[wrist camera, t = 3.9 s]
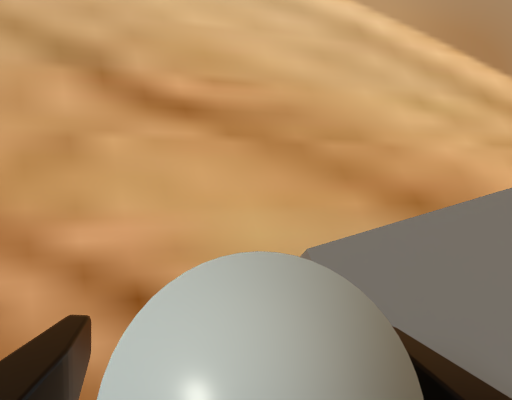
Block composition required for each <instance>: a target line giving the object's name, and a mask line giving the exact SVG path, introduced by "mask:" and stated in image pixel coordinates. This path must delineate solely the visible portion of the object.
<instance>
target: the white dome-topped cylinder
mask: <svg viewBox="0 0 512 400" xmlns="http://www.w3.org/2000/svg"><path fill="white" fill-rule="evenodd" d="M97 400H424V399H423V395H422V391H421V388H420V384H419V381H418V377H417V374H416V372H415V369H414V367H413V364H412V362H411V360H410V357H409V355H408V353H407V351H406V349H405V347H404V345H403V343H402V341H401V340H400V338H399V336H398V334H397V333H396V331H395V330H394V328H393V327H392V325H391V324H390V322H389V321H388V319H387V318H386V317H385V316H384V314H383V313H382V312H381V311H380V310H379V309H378V307H377V306H376V305H375V304H374V303H373V302H372V301H371V300H370V299H369V298H368V297H367V296H366V295H365V294H364V293H363V292H362V291H361V290H360V289H359V288H357V287H356V286H355V285H353V284H352V283H351V282H349V281H348V280H347V279H345V278H344V277H342V276H341V275H339V274H337V273H335V272H334V271H332V270H330V269H329V268H327V267H324V266H322V265H320V264H318V263H315V262H313V261H311V260H307V259H304V258H301V257H297V256H294V255H289V254H283V253H277V252H258V251H257V252H245V253H237V254H232V255H227V256H223V257H219V258H216V259H213V260H211V261H208V262H205V263H202V264H200V265H198V266H196V267H194V268H192V269H190V270H188V271H186V272H185V273H183V274H182V275H180V276H179V277H177V278H176V279H174V280H173V281H171V282H170V283H168V284H167V285H166V286H165V287H164V288H162V289H161V290H160V291H159V292H158V293H157V294H156V295H154V296H153V297H152V298H151V299H150V300H149V301H148V303H147V304H146V305H145V306H144V307H143V308H142V309H141V310H140V311H139V313H138V314H137V315H136V316H135V318H134V319H133V321H132V322H131V323H130V325H129V326H128V328H127V329H126V331H125V332H124V333H123V335H122V337H121V339H120V341H119V343H118V345H117V346H116V348H115V350H114V352H113V354H112V356H111V358H110V361H109V364H108V366H107V369H106V371H105V374H104V376H103V379H102V383H101V386H100V390H99V394H98V398H97Z"/></svg>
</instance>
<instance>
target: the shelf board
mask: <svg viewBox="0 0 512 400" xmlns="http://www.w3.org/2000/svg"><path fill="white" fill-rule="evenodd" d="M301 258H304V259H307V260H311V261H313V262H315V263H318V264H320V265H322V266H324V267H327V268H329V269H330V270H332V271H334V272H335V273H337V274H339V275H341V276H342V277H344V278H345V279H347V280H348V281H349V282H351V283H352V284H353V285H355V286H356V287H357V288H359V289H360V290H361V291H362V292H363V293H364V294H365V295H366V296H367V297H368V298H369V299H370V300H371V301H372V302H373V303H374V304H375V305H376V306H377V307H378V309H379V310H380V311H381V312H382V313H383V314H384V316H385V317H386V318H387V319H388V321H389V322H390V324H391V325H392V326H393V327H396V328H398V329H400V330H401V331H403V332H404V333H406V334H408V335H409V336H411V337H413V338H414V339H416V340H417V341H419V342H421V343H422V344H424V345H425V346H427V347H429V348H430V349H432V350H434V351H435V352H437V353H438V354H440V355H442V356H443V357H445V358H447V359H448V360H450V361H451V362H453V363H455V364H456V365H458V366H460V367H461V368H463V369H464V370H466V371H468V372H469V373H471V374H473V375H474V376H476V377H477V378H479V379H481V380H482V381H484V382H486V383H487V384H489V385H490V386H492V387H494V388H495V389H497V390H499V391H500V392H502V393H503V394H505V395H507V396H508V397H510V398H512V188H510V189H506V190H503V191H499V192H496V193H493V194H489V195H486V196H483V197H479V198H476V199H473V200H469V201H466V202H463V203H459V204H456V205H453V206H449V207H446V208H443V209H439V210H436V211H433V212H429V213H426V214H423V215H419V216H416V217H413V218H409V219H406V220H403V221H399V222H396V223H393V224H389V225H386V226H383V227H379V228H376V229H372V230H369V231H366V232H362V233H359V234H356V235H352V236H349V237H346V238H342V239H339V240H336V241H332V242H329V243H326V244H322V245H319V246H316V247H312V248H309V249H307V250H306V251H305V252H304V253H303V254H302V255H301Z"/></svg>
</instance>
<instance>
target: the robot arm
mask: <svg viewBox="0 0 512 400" xmlns="http://www.w3.org/2000/svg"><path fill="white" fill-rule="evenodd" d="M392 327H393V326H392ZM393 328H394V330H395V331H396V333H397V334H398V336H399V338H400V340H401V341H402V343H403V345H404V347H405V349H406V351H407V353H408V355H409V357H410V360H411V362H412V364H413V367H414V369H415V372H416V374H417V377H418V381H419V384H420V388H421V391H422V395H423V399H424V400H512V398H510V397H508V396H507V395H505V394H503V393H502V392H500V391H499V390H497V389H495V388H494V387H492V386H490V385H489V384H487V383H486V382H484V381H482V380H481V379H479V378H477V377H476V376H474V375H473V374H471V373H469V372H468V371H466V370H464V369H463V368H461V367H460V366H458V365H456V364H455V363H453V362H451V361H450V360H448V359H447V358H445V357H443V356H442V355H440V354H438V353H437V352H435V351H434V350H432V349H430V348H429V347H427V346H425V345H424V344H422V343H421V342H419V341H417V340H416V339H414V338H413V337H411V336H409V335H408V334H406V333H404V332H403V331H401V330H400V329H398V328H396V327H393ZM90 354H91V319H90V317H89V316H87V315H69V316H67V317H65V318H64V319H62V320H61V321H59V322H58V323H56V324H55V325H53V326H52V327H50V328H49V329H47V330H46V331H44V332H43V333H41V334H40V335H38V336H37V337H35V338H34V339H32V340H31V341H29V342H28V343H26V344H25V345H23V346H22V347H20V348H19V349H17V350H16V351H14V352H13V353H11V354H10V355H8V356H7V357H5V358H4V359H2V360H1V361H0V400H78V399H79V396H80V392H81V388H82V385H83V381H84V378H85V374H86V370H87V367H88V363H89V359H90Z"/></svg>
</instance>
